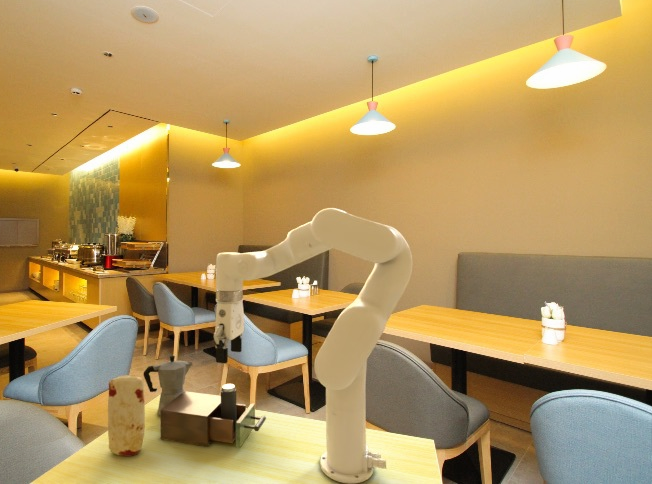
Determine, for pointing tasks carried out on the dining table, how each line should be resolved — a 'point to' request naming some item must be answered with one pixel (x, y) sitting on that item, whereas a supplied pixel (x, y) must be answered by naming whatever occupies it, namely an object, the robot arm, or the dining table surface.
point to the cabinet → (188, 418)
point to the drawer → (244, 425)
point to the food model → (126, 415)
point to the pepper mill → (229, 403)
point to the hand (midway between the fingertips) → (229, 356)
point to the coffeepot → (168, 379)
